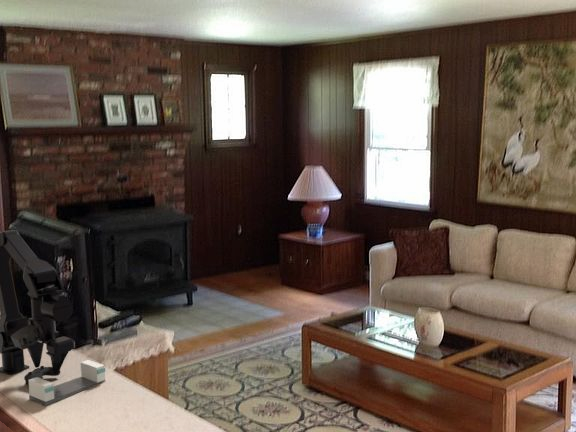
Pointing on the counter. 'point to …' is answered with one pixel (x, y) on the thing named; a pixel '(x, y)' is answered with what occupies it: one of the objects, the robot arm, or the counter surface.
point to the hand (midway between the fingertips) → (46, 370)
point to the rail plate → (68, 389)
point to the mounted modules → (46, 389)
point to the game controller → (39, 373)
